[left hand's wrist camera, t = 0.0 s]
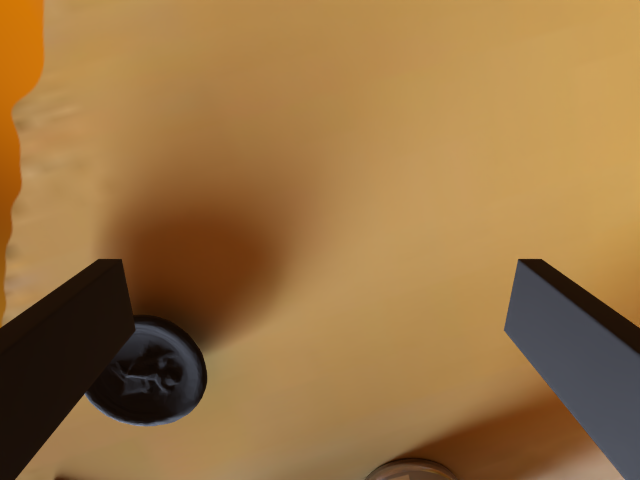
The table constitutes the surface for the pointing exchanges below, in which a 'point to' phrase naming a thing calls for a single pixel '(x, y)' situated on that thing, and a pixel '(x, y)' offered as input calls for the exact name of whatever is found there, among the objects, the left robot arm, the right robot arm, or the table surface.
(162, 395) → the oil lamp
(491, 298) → the table surface
